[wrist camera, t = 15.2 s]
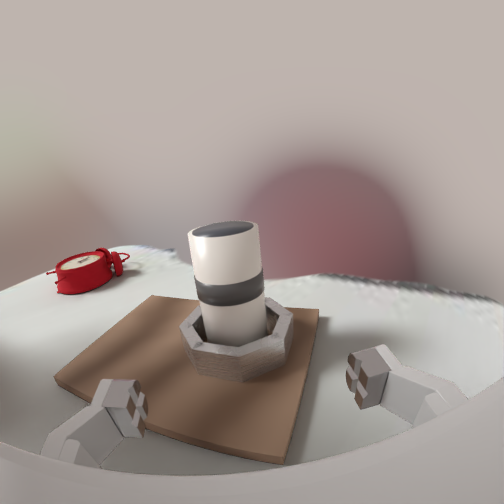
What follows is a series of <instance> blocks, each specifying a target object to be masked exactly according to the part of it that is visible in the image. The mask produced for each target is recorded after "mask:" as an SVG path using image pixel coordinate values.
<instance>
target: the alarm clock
mask: <svg viewBox="0 0 504 504" xmlns="http://www.w3.org/2000/svg"><path fill="white" fill-rule="evenodd" d="M119 254H124V255H128V257H127V258H125V259H123V260H121V258H120V256H119ZM111 256H112V257H111ZM129 257H130V255H129V254H126V253H117V252H111V254H110V252H109V251H108V250H107V249H105V248H99V249H96V251H95V252H86V253H82V254H78V255H74V256H71V257H69V258H67V259H64V260H63V261H61V262H59V263H58V264H57V265H56V271H53V272H49V273H48V272H47V273H46V274H47V275H48V274H51V273H57V277H58V281H56V282H55V284H57V283H58V285H57V288H58V291H57V293H63V294H76V293H82V292H86V291H89V290H92V289H95V288H97V287H99V286H101V285H103V284H105V283H106V282H107V281H109V280H110V279H111V278H112V275H113V273H112V270H111V269H110V267H111V265H112V263H113V265H114V269H115V272H116V274H117V276H120V275H121V274H122V272H123V267H122V262H125V260H126V259H128V258H129Z"/></svg>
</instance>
